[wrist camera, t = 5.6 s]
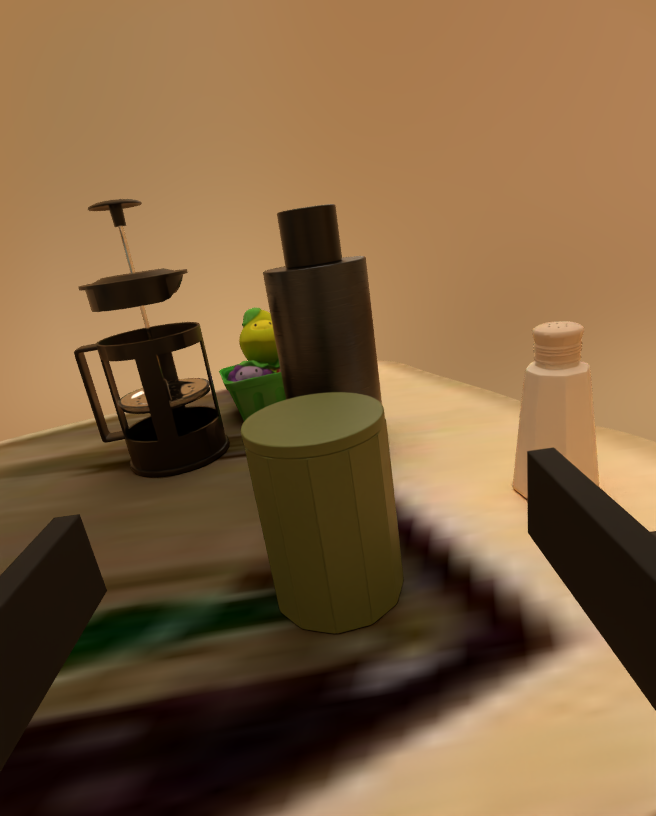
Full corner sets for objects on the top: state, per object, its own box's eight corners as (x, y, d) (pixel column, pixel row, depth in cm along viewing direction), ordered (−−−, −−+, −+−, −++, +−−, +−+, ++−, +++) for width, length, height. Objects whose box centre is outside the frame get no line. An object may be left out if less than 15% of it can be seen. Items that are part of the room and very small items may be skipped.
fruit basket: (234, 429, 52) (210, 324, 49) (226, 405, 60) (205, 314, 57) (335, 405, 55) (320, 304, 51) (314, 386, 63) (300, 297, 59)
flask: (303, 481, 39) (255, 212, 32) (290, 443, 47) (249, 219, 40) (400, 459, 40) (373, 196, 34) (372, 426, 48) (345, 205, 41)
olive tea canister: (284, 649, 23) (242, 459, 20) (271, 562, 30) (238, 408, 26) (422, 612, 24) (404, 425, 21) (380, 535, 31) (361, 383, 27)
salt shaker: (617, 484, 32) (628, 318, 29) (572, 519, 29) (577, 339, 26) (541, 461, 37) (542, 313, 33) (495, 489, 34) (490, 332, 30)
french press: (235, 426, 53) (184, 197, 45) (237, 461, 44) (175, 185, 37) (122, 449, 51) (50, 215, 44) (102, 490, 43) (7, 207, 35)
